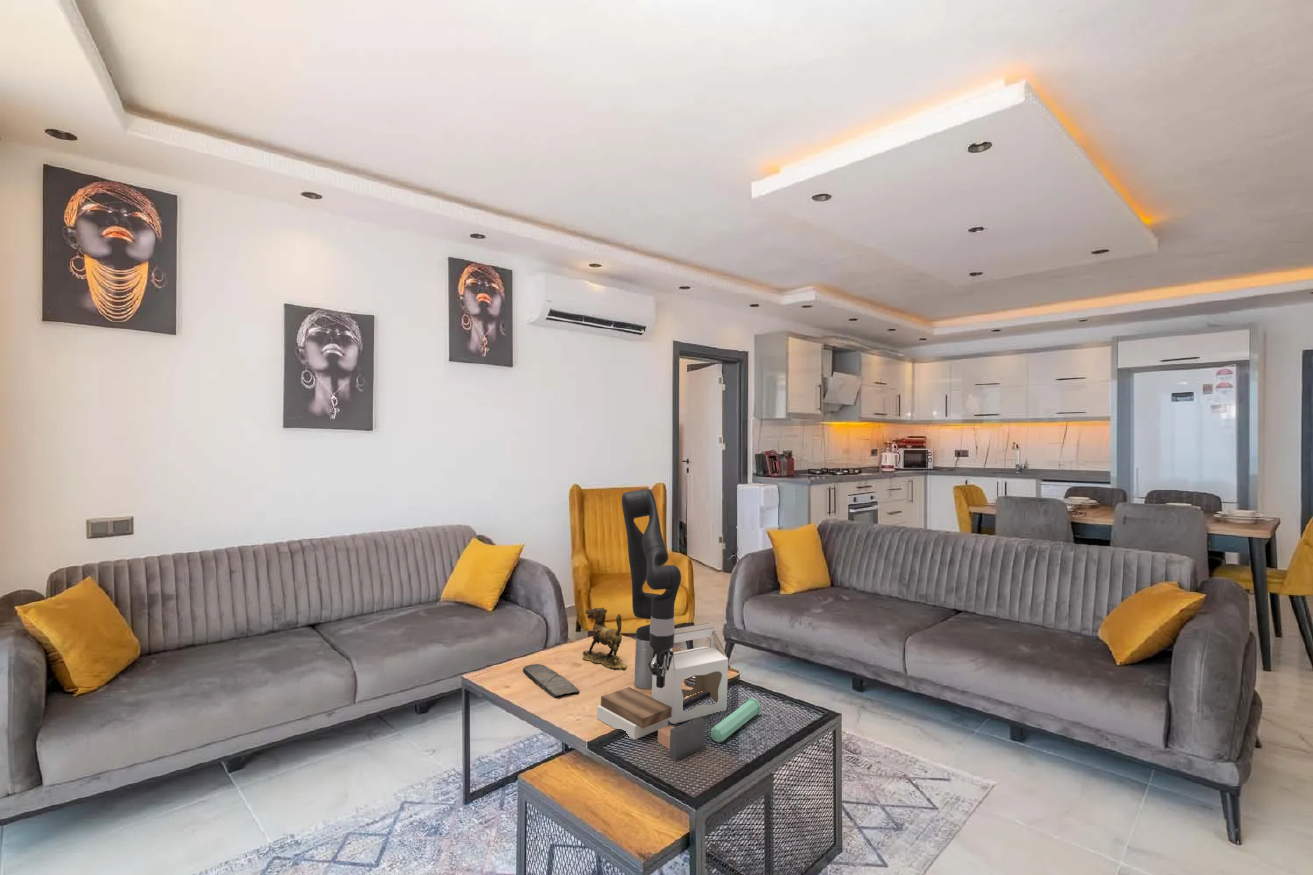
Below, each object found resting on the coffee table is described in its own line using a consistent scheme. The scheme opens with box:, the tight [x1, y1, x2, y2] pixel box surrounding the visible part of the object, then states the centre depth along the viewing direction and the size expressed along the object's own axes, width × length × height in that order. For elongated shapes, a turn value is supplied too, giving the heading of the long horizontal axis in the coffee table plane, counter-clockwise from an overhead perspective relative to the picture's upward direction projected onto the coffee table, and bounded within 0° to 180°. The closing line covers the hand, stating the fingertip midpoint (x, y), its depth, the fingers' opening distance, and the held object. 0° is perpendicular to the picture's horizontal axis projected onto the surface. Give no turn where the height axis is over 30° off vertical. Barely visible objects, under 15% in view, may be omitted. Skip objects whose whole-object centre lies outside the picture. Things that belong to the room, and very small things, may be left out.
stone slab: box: [522, 663, 581, 699], centre depth 228 cm, size 10×3×30 cm
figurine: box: [582, 607, 628, 671], centre depth 251 cm, size 13×25×20 cm, turn 42°
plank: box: [600, 686, 672, 728], centre depth 197 cm, size 12×20×3 cm, turn 44°
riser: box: [596, 704, 669, 740], centre depth 198 cm, size 14×18×4 cm
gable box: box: [651, 622, 729, 725], centre depth 209 cm, size 22×13×28 cm, turn 122°
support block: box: [657, 724, 676, 750], centre depth 186 cm, size 5×6×4 cm
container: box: [710, 697, 762, 744], centre depth 197 cm, size 6×6×25 cm
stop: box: [669, 717, 706, 762], centre depth 181 cm, size 12×2×8 cm, turn 134°
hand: (660, 686), depth 191 cm, fingers closed
